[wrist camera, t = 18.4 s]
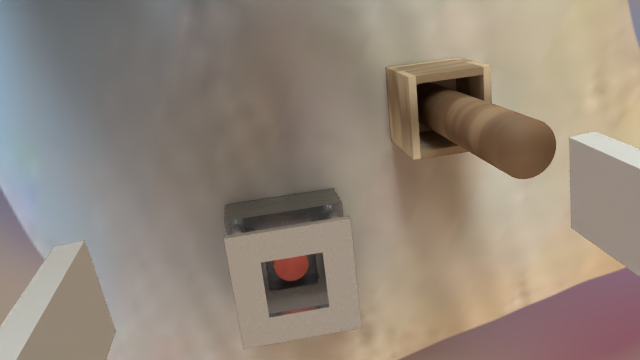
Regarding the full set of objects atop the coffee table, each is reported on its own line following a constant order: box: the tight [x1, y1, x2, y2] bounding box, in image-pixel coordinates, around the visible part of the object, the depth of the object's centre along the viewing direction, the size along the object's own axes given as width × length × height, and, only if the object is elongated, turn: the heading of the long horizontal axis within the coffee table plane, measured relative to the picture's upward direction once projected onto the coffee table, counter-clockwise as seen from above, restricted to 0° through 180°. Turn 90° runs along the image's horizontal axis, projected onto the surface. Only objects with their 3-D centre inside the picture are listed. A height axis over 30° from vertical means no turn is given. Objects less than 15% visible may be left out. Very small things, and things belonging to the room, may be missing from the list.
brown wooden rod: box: [416, 82, 556, 179], centre depth 42 cm, size 4×4×18 cm
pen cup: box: [386, 58, 492, 160], centre depth 48 cm, size 7×7×7 cm
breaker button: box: [273, 255, 308, 281], centre depth 51 cm, size 3×3×2 cm
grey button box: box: [224, 188, 362, 349], centre depth 50 cm, size 10×10×8 cm
